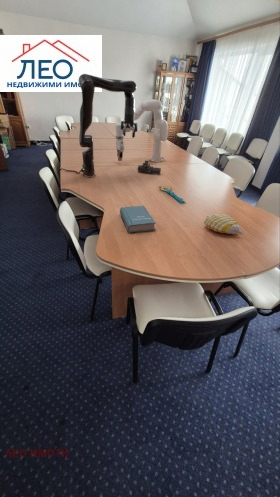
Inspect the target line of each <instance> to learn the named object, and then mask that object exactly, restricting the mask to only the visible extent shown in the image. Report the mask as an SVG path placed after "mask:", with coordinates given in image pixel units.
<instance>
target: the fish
mask: <svg viewBox="0 0 280 497" xmlns="http://www.w3.org/2000/svg"><path fill="white" fill-rule="evenodd" d="M203 223H204V225H205V226H206V227H207V228H208V229H210V230H212V231H214V232H217V233H222V234H227V235H237V234H239V235H244V234H245V233H244V232H243V231H242V229H241V227H240V225H239V224H238V222H237V219H236V218H235V217H232V216H230V215H229V214H228V213H216V214H210V215H207V216H206V218H205V219H204V220H203Z"/></svg>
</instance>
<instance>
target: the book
mask: <svg viewBox="0 0 280 497" xmlns="http://www.w3.org/2000/svg"><path fill="white" fill-rule="evenodd" d="M119 214H120V217H121V219H122V221H123V223H124V226H125V227H126V230H127V232H128V233H141V232H151V231H155V230H156V229H155V224H156V221H155V220H154V218H153V217H152V215H151V214H150V212H149V211H148V209H147V207H146V206H145V205H135V206H134V205H133V206H124V207H123V206H122V207H120V208H119Z"/></svg>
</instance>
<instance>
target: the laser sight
mask: <svg viewBox="0 0 280 497" xmlns="http://www.w3.org/2000/svg"><path fill="white" fill-rule="evenodd" d="M149 162H150V160H144V162H143V163H142V164H141V165H140V164H138V166H137V172H139V173H143V174H149V175H150V174H154V175H161V171H162V168H161V167H155V166H152V165H151V164H149Z"/></svg>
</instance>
